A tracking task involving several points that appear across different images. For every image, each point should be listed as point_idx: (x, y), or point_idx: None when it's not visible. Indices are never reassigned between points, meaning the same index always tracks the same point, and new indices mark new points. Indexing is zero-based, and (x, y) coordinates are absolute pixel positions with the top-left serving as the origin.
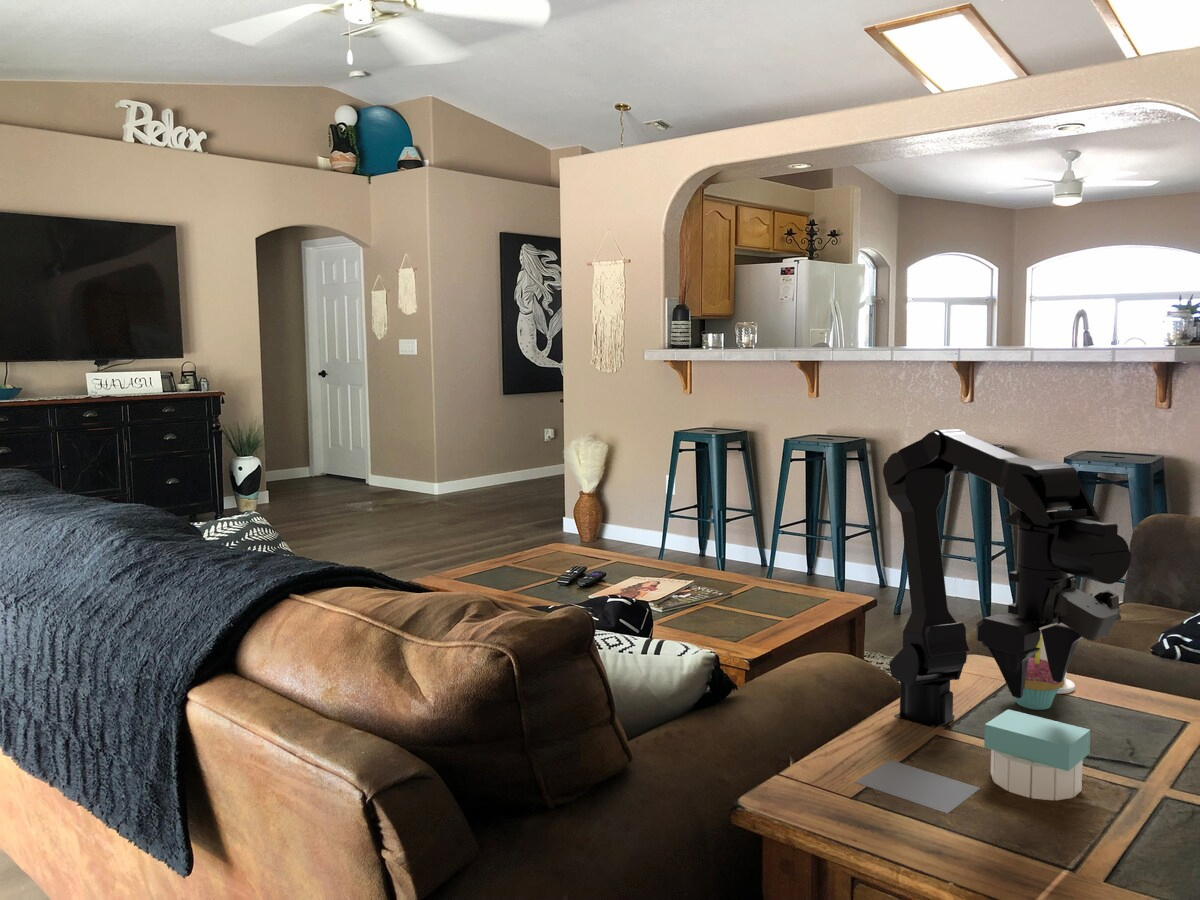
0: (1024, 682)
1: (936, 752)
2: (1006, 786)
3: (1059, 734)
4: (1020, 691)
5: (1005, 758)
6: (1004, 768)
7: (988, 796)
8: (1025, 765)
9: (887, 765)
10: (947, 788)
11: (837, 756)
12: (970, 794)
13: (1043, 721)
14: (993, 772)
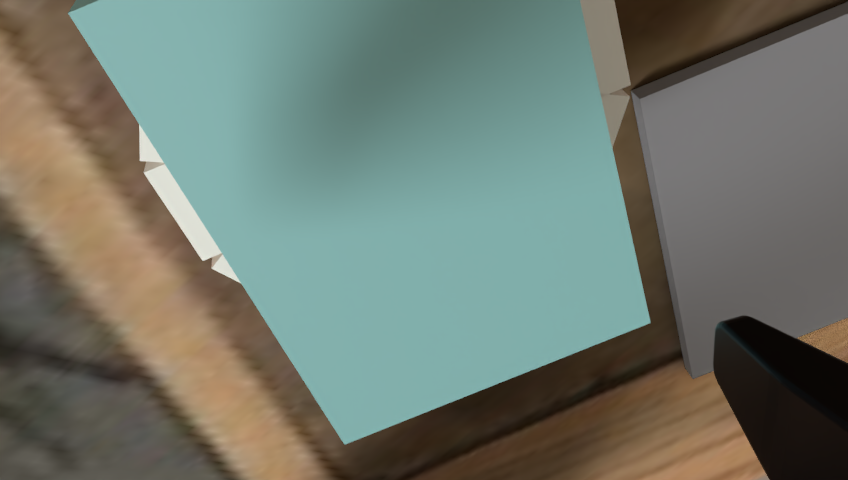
0: (842, 405)
1: (471, 400)
2: None
3: (391, 42)
4: (809, 345)
5: (622, 113)
6: None
7: (630, 54)
8: (610, 4)
9: None
10: (744, 145)
11: None
12: (726, 69)
13: (298, 255)
14: None
